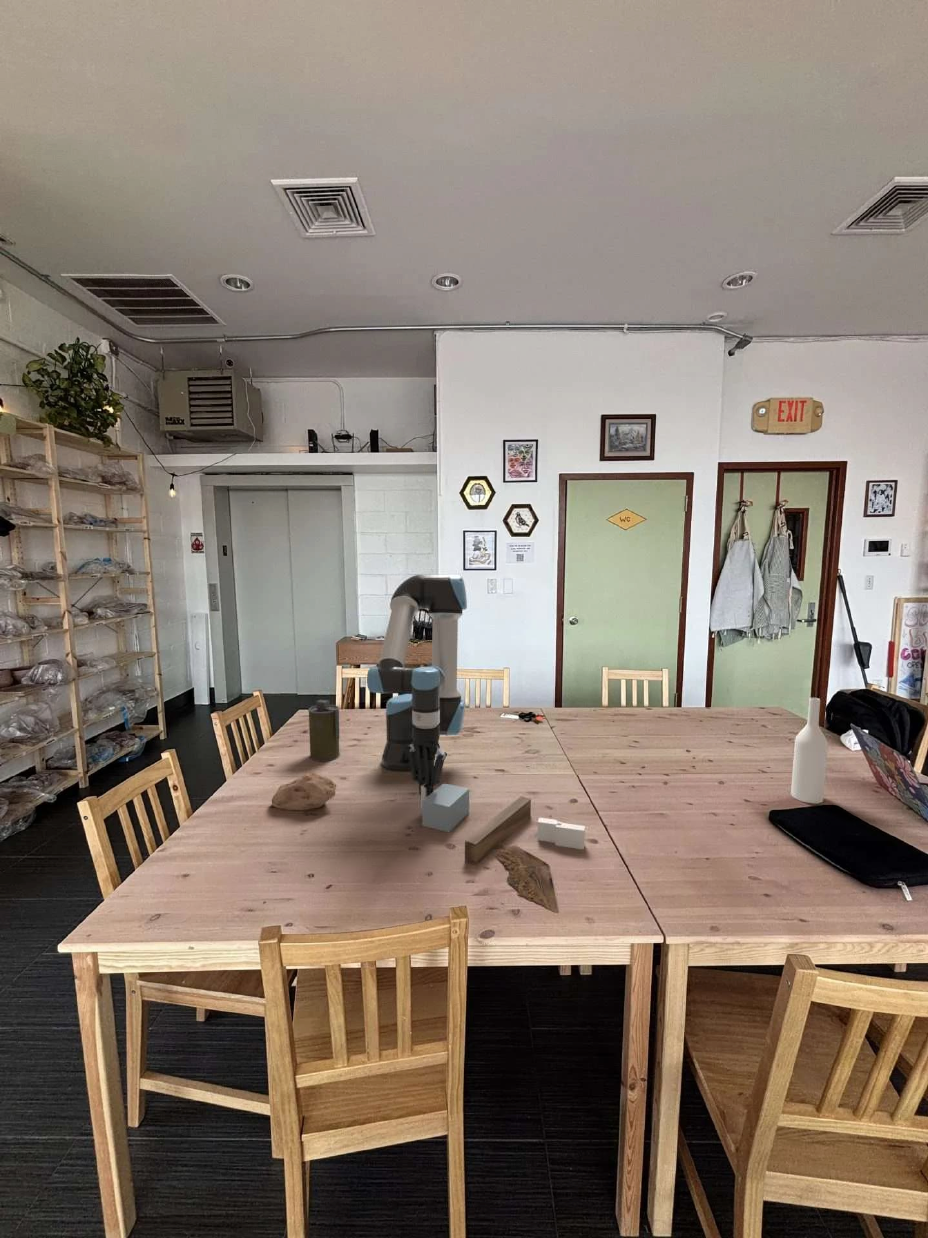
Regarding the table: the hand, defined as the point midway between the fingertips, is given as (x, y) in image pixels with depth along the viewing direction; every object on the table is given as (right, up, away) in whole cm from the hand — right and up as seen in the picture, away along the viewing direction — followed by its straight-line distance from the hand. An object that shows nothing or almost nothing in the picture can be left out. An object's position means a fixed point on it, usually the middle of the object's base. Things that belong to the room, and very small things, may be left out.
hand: (426, 807), depth 150 cm
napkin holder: (+34, -4, -14) cm, 38 cm away
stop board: (+20, -3, -13) cm, 24 cm away
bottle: (+112, -1, +10) cm, 112 cm away
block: (+6, -2, -3) cm, 7 cm away
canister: (-39, +3, +42) cm, 57 cm away
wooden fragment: (+25, -6, -29) cm, 39 cm away
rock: (-35, -1, +4) cm, 35 cm away
